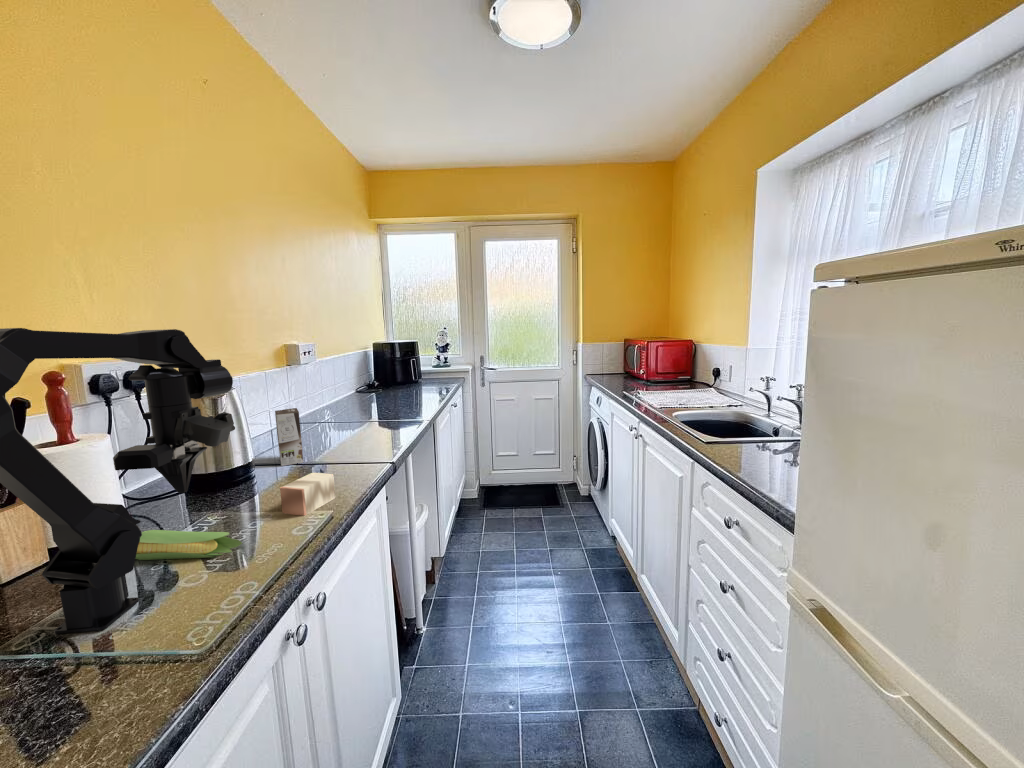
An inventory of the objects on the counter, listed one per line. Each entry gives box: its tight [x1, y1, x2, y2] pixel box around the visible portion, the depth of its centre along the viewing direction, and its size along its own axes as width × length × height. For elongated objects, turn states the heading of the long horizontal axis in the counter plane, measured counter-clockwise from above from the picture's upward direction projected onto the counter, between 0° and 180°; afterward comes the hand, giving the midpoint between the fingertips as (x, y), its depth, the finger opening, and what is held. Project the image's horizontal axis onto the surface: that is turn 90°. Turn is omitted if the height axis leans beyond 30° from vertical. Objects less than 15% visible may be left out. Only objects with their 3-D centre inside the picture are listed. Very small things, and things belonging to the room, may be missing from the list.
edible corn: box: [135, 529, 243, 561], centre depth 77 cm, size 5×20×5 cm
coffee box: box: [274, 407, 304, 467], centre depth 131 cm, size 9×6×16 cm
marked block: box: [279, 472, 336, 517], centre depth 98 cm, size 6×6×10 cm
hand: (182, 492), depth 73 cm, fingers closed
